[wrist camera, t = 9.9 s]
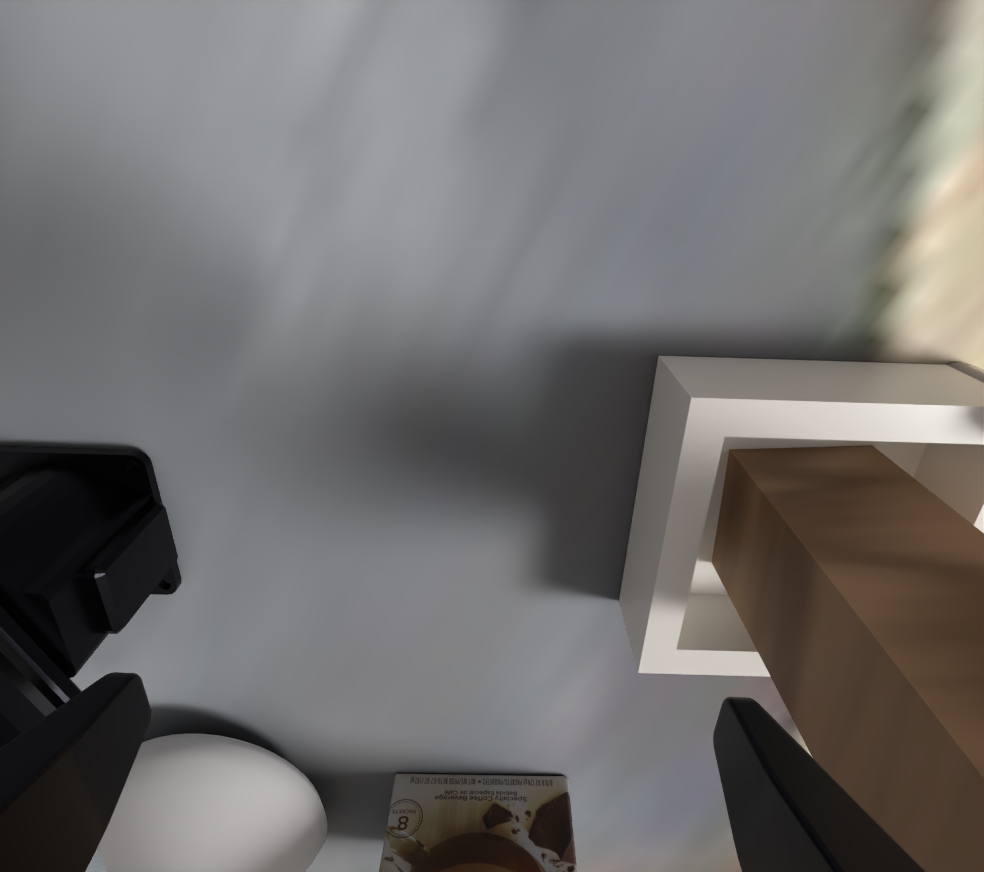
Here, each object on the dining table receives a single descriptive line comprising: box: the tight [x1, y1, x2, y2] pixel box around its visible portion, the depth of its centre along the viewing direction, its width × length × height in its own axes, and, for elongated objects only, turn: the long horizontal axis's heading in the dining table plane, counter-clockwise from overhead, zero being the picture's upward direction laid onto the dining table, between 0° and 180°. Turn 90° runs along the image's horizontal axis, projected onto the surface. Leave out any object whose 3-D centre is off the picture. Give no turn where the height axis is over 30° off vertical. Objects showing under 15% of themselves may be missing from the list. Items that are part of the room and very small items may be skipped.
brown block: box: [712, 445, 984, 872], centre depth 16 cm, size 5×5×14 cm
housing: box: [619, 356, 984, 677], centre depth 20 cm, size 11×11×6 cm
